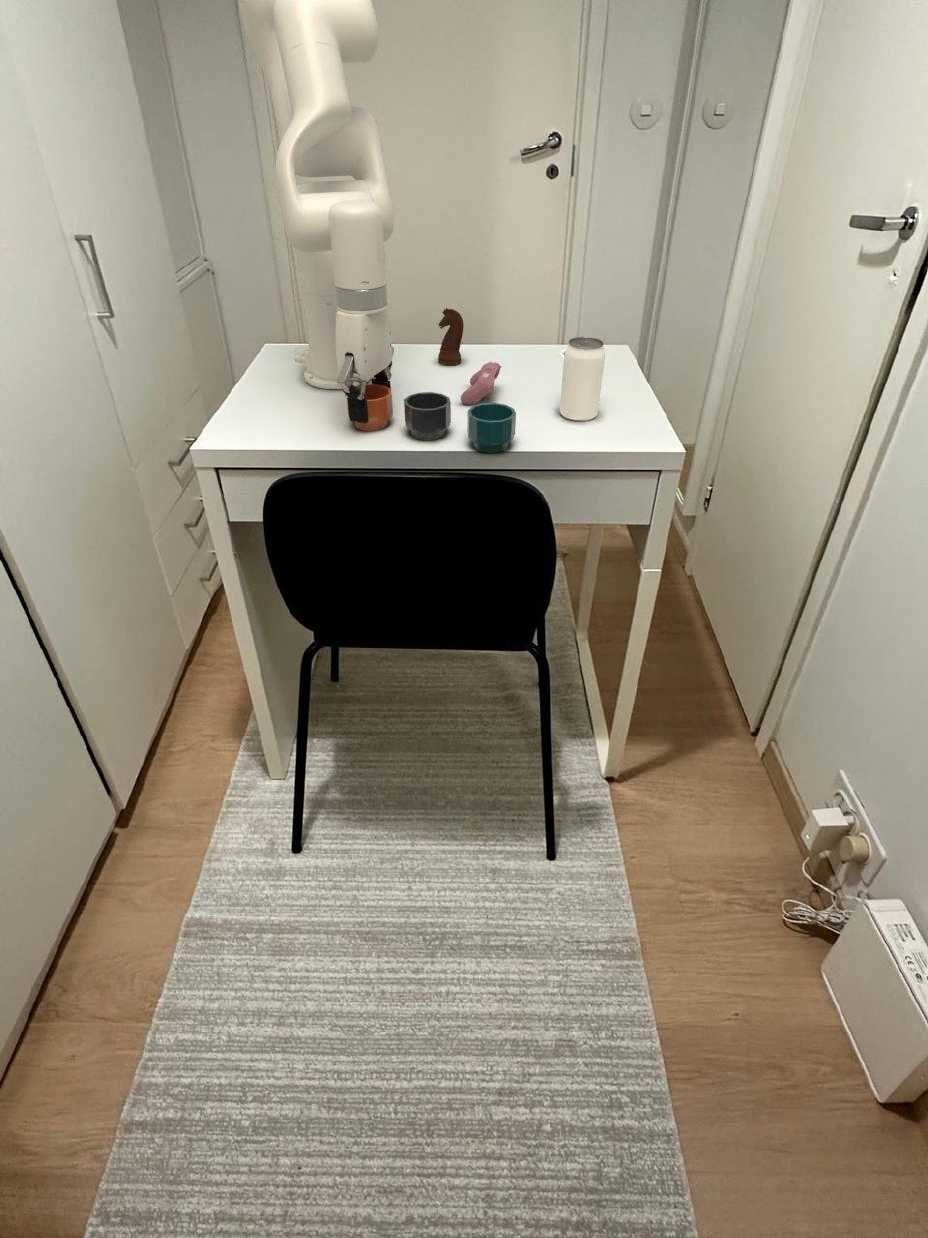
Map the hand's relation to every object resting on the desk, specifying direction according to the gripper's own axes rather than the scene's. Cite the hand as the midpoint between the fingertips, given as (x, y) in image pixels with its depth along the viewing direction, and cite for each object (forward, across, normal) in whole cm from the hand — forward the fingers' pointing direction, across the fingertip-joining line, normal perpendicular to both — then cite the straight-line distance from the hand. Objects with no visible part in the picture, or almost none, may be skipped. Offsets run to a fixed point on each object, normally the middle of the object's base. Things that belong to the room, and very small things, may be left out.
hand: (370, 411), depth 118 cm
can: (+2, -17, +30) cm, 35 cm away
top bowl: (+2, 0, +21) cm, 21 cm away
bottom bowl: (+2, 0, +10) cm, 10 cm away
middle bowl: (+2, 0, 0) cm, 2 cm away
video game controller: (+2, -18, +12) cm, 22 cm away
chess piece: (+2, -32, 0) cm, 32 cm away
